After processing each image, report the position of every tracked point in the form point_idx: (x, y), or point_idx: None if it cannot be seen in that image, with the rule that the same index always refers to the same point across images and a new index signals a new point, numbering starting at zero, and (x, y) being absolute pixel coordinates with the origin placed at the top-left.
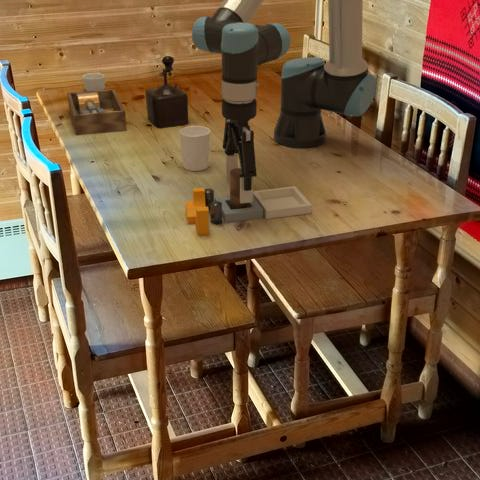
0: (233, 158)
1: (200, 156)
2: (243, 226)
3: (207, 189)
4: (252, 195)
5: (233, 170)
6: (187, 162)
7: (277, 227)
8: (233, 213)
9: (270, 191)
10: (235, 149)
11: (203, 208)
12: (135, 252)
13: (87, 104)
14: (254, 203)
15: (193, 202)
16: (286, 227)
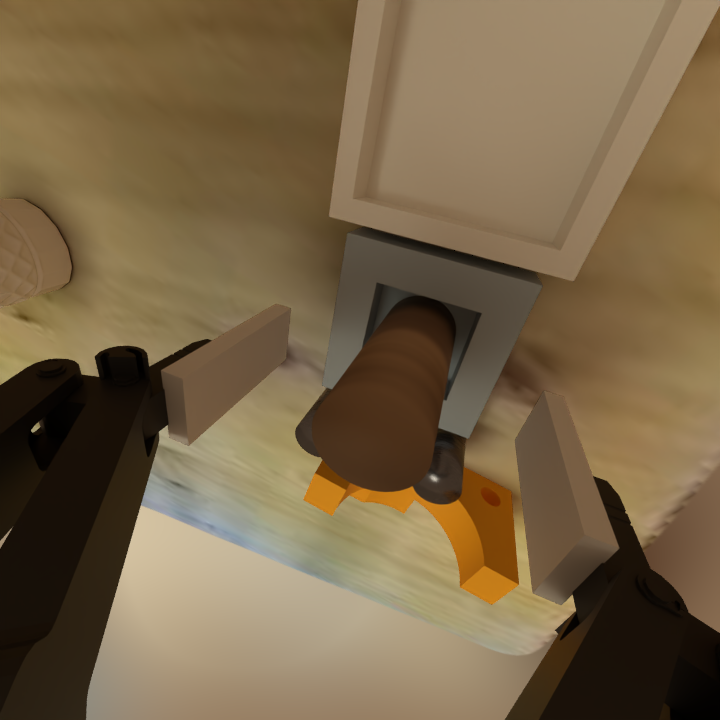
0: (198, 396)
1: (5, 261)
2: (530, 374)
3: (303, 434)
4: (572, 422)
5: (334, 454)
6: (36, 294)
7: (663, 258)
8: (481, 411)
9: (368, 109)
10: (137, 425)
11: (486, 581)
12: (464, 621)
13: None
14: (452, 282)
15: None
16: (708, 213)
